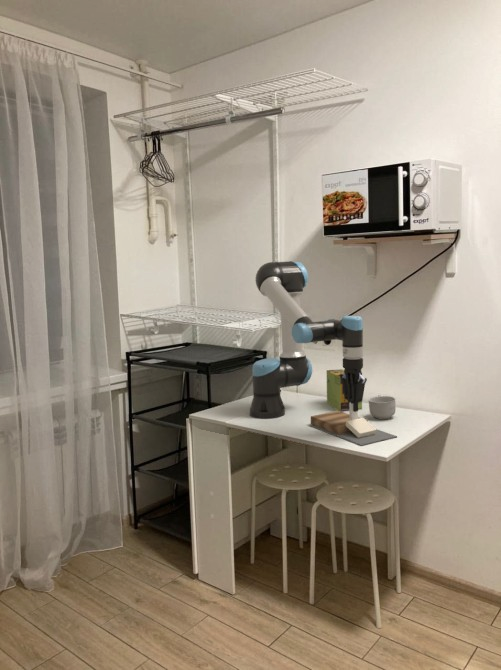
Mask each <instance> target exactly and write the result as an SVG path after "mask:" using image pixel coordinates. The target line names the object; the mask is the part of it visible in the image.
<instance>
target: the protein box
mask: <svg viewBox="0 0 501 670" xmlns="http://www.w3.org/2000/svg"><path fill="white" fill-rule="evenodd" d="M344 370H345V369H344V368H342V369H329V370H326V404H327V405H329V406H330V407H332V408H333V409H336V411H341V412H348V411H349V402H348V400H347V399H345V398H344V392H343V386H342V380H341V378H340V374H343V373H344ZM347 396H348V395H347ZM359 410H363V401H362V402H359V403H358V411H359Z"/></svg>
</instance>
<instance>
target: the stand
mask: <svg viewBox="0 0 501 670" xmlns="http://www.w3.org/2000/svg"><path fill="white" fill-rule="evenodd" d="M359 418H360V417H359V416H358V419H359ZM365 420H366V421H367V422H369V420H368V419H365ZM346 421H350V414H349V413H346V412H345V411H339V410H336V411H329V412H325V413H319V414H314V415H310V425H316V426H319V427H321V428H324V429H326V430H329V431H332V432H334V433H337V434H344V433H348V432H352V431H351V430H350V429H349V428H347V427H346V426H345V425H346Z"/></svg>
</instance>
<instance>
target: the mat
mask: <svg viewBox="0 0 501 670" xmlns="http://www.w3.org/2000/svg"><path fill="white" fill-rule="evenodd" d="M310 427H312V428H314V429H317V430H319V431H322V432H324V433H327V434H329V435H333V436H335V437H336V438H337V437H338V438H340V439H342V440H345V441H347V442H350V443H352V444H355V445H357V446H360V447H363V446H368V445H371V444H375V443H379V442H383V441H387V440H392V439H395V438H398V435H394V434H392V433H388V432H386V431H383V430H380V429H377V428H375V429H376V433H375V434H374V435H369V436H365V437H361V438H358V437H357V436H356V435H355V434H354V433H353V432H348V433H344V434H337V433H334V432H332V431H329V430H326V429H324V428H321V427H319V426H316V425H313V424H310Z"/></svg>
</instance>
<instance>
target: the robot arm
mask: <svg viewBox="0 0 501 670" xmlns="http://www.w3.org/2000/svg"><path fill="white" fill-rule="evenodd" d="M255 274H256V275H255V285H256V288H257V289H258V291H259V292H260V294H261V295H262V296H264V297H267V299H269V301H270V302H271V304H272V305H273V306H274V307H275V309H276V310H277V311H278V312H279V313H280V325H281V347H282V349H281V350H282V352H281V353H280V354H279V358H277V357H270V358H263V359H260V360H256V361H255V362H254V363H253V365H252V371H251V372H252V373H251V374H252V389H253V390H252V394H253V395H252V396H253V398H252V400H251V405H250V407H249V415H250V416H251V417H253V418H257V419H274V418H279V417H283V416H284V415H285V414H286V407H285V405H284V402H283V399H282V397H281V389H282V388H290V387H294V386H295V387H299V386H302V385H305V384H307V383H308V382H309V381H310V380H311V377H312V374H313V365H312V363H311V360H310V359H309V358H308V357H307V354H306V353H305V352H304V351H303V344H310V343H315V342H317V343H318V342H326V341H333V340H337V341H338V340H339V341H342V343H341V345H342V357H343V358H342V369H345V370H344V373H343V374H340V378H341V380H342V386H343V392H344V398H345V399H347V400H348V402H349V413H348V414H350V420H354V419H358V417H359V415H358V414H359V413H358V412H359V410H358V403H359V402H362V403H363V399H364V398H363V397H364V392H365V387H366V383H367V382H368V381H367V380H368V378H367V377H364V376H363V372H362V369H363V368H364V358H363V357H364V346H363V345H364V344H363V343H364V340H363V339H364V337H363V336H364V333H363V332H364V331H363V329H364V325H363V319H362V317H361V316H359V315H346V316H345V315H343V317H342V318H341V319H335V318H331V319H330V318H327V319H324V320H322V321H313V320H312V319H311V318H310V317H309V316H308V314H307V313H306V312H305V311H304V310H303V309H302V307H301V296H302V294H304V289H305V287H307V285H308V282H309V274H308V270H307V268H306V267H305V266H304V264H303V263H302V262H300V261H294V260H293V261H270V262H266V263H264V264H262V265H261V266H260V267H259V268H258V270H257V272H256V273H255ZM347 395H348V396H347Z"/></svg>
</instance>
